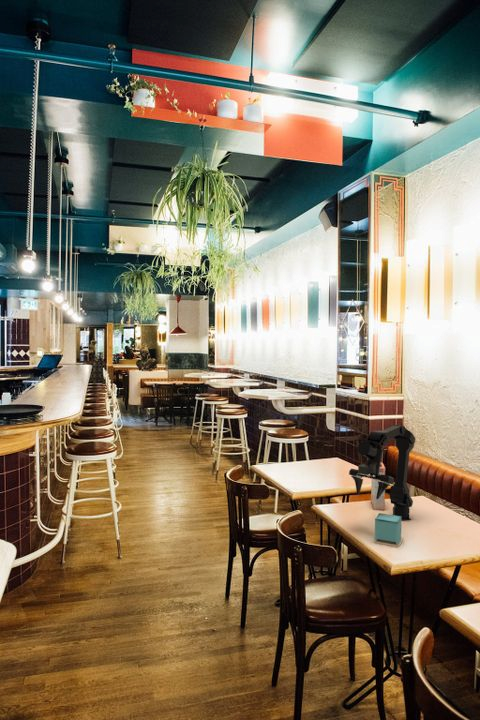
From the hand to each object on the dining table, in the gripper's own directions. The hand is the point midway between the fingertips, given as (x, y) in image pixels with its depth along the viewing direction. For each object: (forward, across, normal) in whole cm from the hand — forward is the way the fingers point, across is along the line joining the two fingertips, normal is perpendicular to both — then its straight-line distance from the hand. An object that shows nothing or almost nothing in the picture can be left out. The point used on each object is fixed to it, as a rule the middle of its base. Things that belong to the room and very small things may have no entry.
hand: (367, 496), depth 207 cm
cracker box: (+2, -17, +42) cm, 46 cm away
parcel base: (+15, +10, +6) cm, 19 cm away
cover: (+15, +10, +5) cm, 19 cm away
